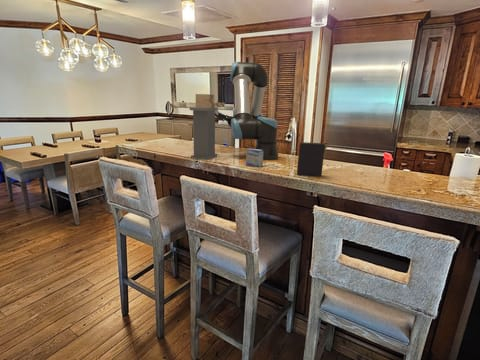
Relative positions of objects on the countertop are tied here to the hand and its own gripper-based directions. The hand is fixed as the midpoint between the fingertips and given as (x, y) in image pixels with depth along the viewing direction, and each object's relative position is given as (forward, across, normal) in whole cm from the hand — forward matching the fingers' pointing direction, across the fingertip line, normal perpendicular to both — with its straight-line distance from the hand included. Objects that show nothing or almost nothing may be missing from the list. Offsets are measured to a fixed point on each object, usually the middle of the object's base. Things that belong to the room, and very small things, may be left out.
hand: (223, 108), depth 183 cm
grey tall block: (+10, 0, -36) cm, 38 cm away
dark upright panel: (+22, -62, -43) cm, 78 cm away
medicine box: (+16, -33, -40) cm, 54 cm away
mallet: (+14, 0, -6) cm, 16 cm away
